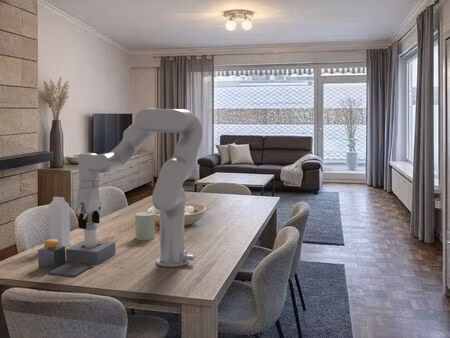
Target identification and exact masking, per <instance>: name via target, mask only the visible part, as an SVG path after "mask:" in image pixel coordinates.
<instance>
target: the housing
mask: <svg viewBox="0 0 450 338" xmlns="http://www.w3.org/2000/svg"><path fill="white" fill-rule="evenodd" d="M97 244H98V247H96V248H85V241H84V240H82V241H80V242H78V243H76V244H73V245H72V246H71V245H70V246H68V248H65V256H66V263H69V262H70V263H77V264H80V263H81V264H88V265H100V264H101V263H103V262H105V261H106V260H108V259H109V258H112V257H113V256H115V255H116V253H117V252H116V241H115V242H114V241H104V240H97Z"/></svg>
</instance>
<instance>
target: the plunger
mask: <svg viewBox="0 0 450 338" xmlns="http://www.w3.org/2000/svg"><path fill="white" fill-rule="evenodd" d="M43 245H44V246H43V247H47V248H50V249H54V247H56V246H58V239H50V238H49V239H45V240H44V243H43Z"/></svg>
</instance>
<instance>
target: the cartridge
mask: <svg viewBox="0 0 450 338" xmlns="http://www.w3.org/2000/svg"><path fill="white" fill-rule="evenodd" d="M83 235H84V240H83V241H85V248H96V247H98V244H97V241H98V224H97V223H93V222H92V221H91V222H86V229H83Z"/></svg>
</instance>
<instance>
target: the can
mask: <svg viewBox="0 0 450 338" xmlns="http://www.w3.org/2000/svg"><path fill="white" fill-rule="evenodd" d="M134 215H135V217H134V219H135V220H134V221H135V236H134V237H135V239H136V240H139V241H150V240H153V239H156V234H155V233H156V229H155V228H156V227H155V226H156V225H155V222H156V220H155V212H153V211H140V212H139V211H138V212H136V213H135V214H134Z"/></svg>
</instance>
